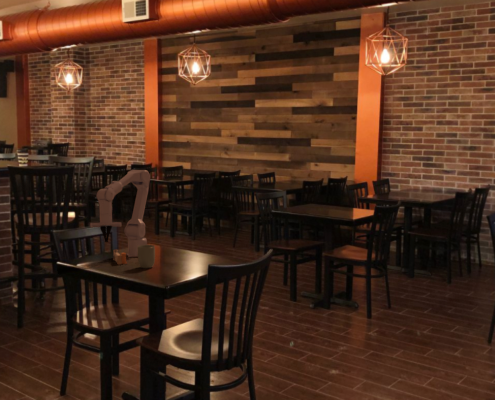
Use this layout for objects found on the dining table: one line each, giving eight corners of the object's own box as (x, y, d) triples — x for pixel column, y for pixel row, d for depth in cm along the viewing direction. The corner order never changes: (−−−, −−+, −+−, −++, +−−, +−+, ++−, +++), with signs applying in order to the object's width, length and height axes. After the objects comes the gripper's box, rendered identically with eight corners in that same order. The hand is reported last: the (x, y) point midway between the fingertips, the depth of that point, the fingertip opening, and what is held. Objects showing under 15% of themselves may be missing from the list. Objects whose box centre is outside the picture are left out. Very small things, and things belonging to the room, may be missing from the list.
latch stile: (125, 262, 284) (125, 252, 283) (127, 263, 281) (126, 253, 281) (120, 262, 283) (120, 252, 283) (121, 264, 280) (121, 253, 280)
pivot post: (118, 259, 293) (118, 249, 292) (119, 260, 290) (119, 250, 290) (112, 259, 292) (112, 249, 291) (113, 260, 289) (113, 250, 289)
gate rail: (114, 260, 289) (114, 252, 289) (118, 260, 290) (118, 251, 290) (117, 264, 279) (117, 255, 279) (121, 264, 280) (121, 255, 279)
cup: (158, 266, 274) (157, 245, 273) (150, 269, 266) (149, 247, 266) (143, 265, 276) (142, 244, 275) (134, 268, 269) (134, 247, 268)
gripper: (89, 215, 278) (90, 243, 279) (121, 214, 281) (121, 242, 282) (90, 213, 285) (91, 241, 286) (121, 212, 288) (121, 240, 289)
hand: (106, 241), depth 285 cm, fingers closed
